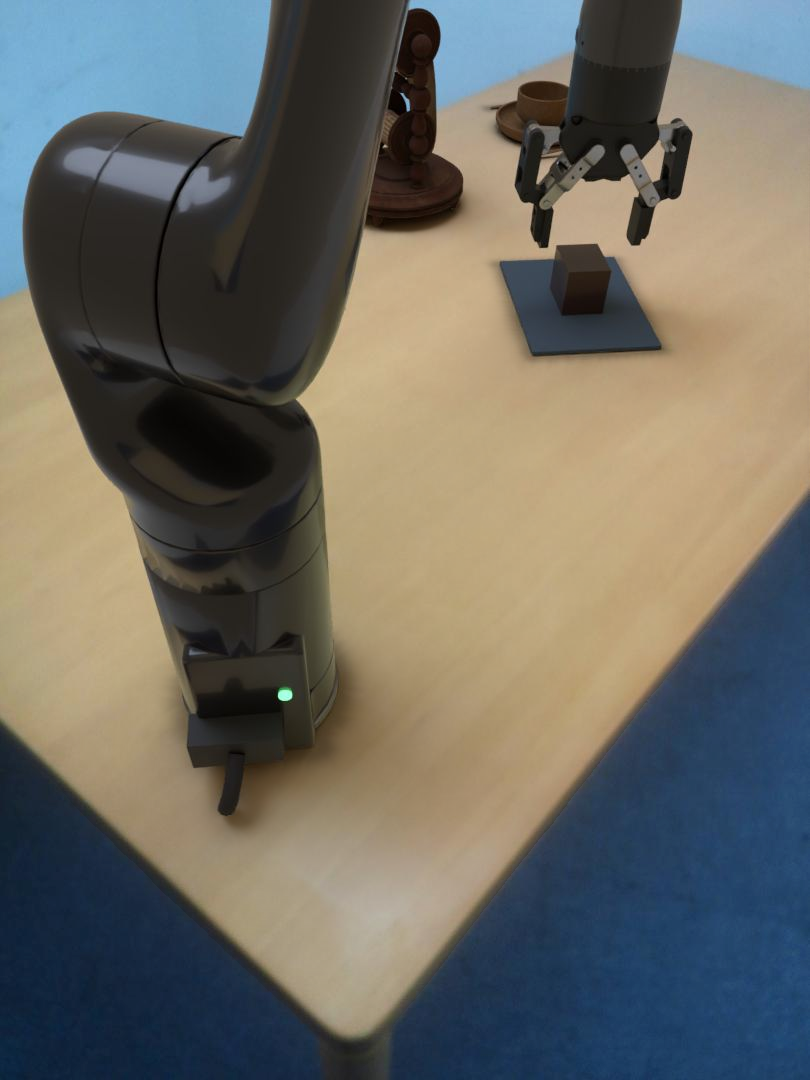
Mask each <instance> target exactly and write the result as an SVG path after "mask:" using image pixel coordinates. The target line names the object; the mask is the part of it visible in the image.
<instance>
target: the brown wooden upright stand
mask: <svg viewBox="0 0 810 1080" xmlns="http://www.w3.org/2000/svg"><path fill="white" fill-rule="evenodd" d="M441 33H442V32H441V27H440V24H439V21H438V19H437V18H436V16H435V15H434V14H433V13H432V12H431V11H429V10H427V8H426V9H425V8H421V7H415V8H409V9H408V13H407V17H406V22H405V26H404V31H403V35H402V39H401V44H400V49H399V53H398V58H397V63H396V68H395V73H394V78H393V83H392V88H391V93H390V98H389V103H388V108H387V113H386V118H385V123H384V128H383V133H382V138H381V143H380V148H379V154H378V159H377V164H376V169H375V174H374V179H373V185H372V190H371V195H370V200H369V205H368V211H367V216H368V215H369V216H371V218H372V222H373V225H374V226H375V227H378V228H379V227H381V224H382V222H383V218H388V219H409V218H410V219H411V218H420V217H426V216H429V215H434V214H437V213H440V212H442V211H445V210H446V209H449V208H450V209H452V210H455V209H457V207H458V205H459V203H460V198H461V196H462V195H463V192H464V176H463V173H462V171H461V170H460V168H458V167H457V166H456V165H455V164H453V163H452V162H451V161H449V160H447V159H446V158H445V157H442V156H440V155H439V154H436V153H435V152H434V148H435V146H436V143H437V133H438V132H437V131H438V120H437V116H438V115H437V113H438V112H437V85H436V72H435V64H434V60H435V58H436V56H437V54H438V52H439V49H440V45H441V38H442V34H441ZM404 97H405V98H404ZM405 99H407V100H408V103H409V110H408V107H407V102H406V100H405ZM384 146H385V147H384Z"/></svg>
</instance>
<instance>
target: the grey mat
mask: <svg viewBox="0 0 810 1080" xmlns="http://www.w3.org/2000/svg"><path fill="white" fill-rule="evenodd" d="M604 257H605V259H606V261H607V263H608V265H609V267H610V269H611V270H612V271H611V276H610V281H609V285H608V290H607V295H606V300H605V304H604V309H603V313H602V314H583V315H561V313H560V311H559V308H558V306H557V303H556V301H555V299H554V296H553V294H552V292H551V289H550V283H551V276H552V270H553V264H554V258H545V259H519V260H500V261H499V267H500V269H501V273H502V275H503V278H504V281H505V284H506V287H507V290H508V292H509V296H510V298H511V301H512V303H513V306H514V309H515V311H516V314H517V317H518V320H519V323H520V326H521V328H522V331H523V335H524V337H525V340H526V342H527V345H528V348H529V351H530V354H531V356H548V355H549V356H550V355H552V356H553V355H571V354H573V355H574V354H589V353H590V354H591V353H607V352H608V353H609V352H610V353H611V352H630V351H650V350H651V351H652V350H661V349H662V347H663V346H662V343H661V341H660V340H659V337H658V336H657V334H656V332H655V330H654V328H653V327H652V325H651V323H650V321H649V319H648V317H647V315H646V313H645V312H644V309H643V307H642V305H641V303H640V302H639V300H638V298H637V297H636V295H635V293H634V291H633V289H632V287H631V286H630V283H629V282H628V280H627V278H626V276H625V274H624V272H623V271H622V268H621V267H620V265H619V262H617V259H616V258H615V257H616V256H604Z"/></svg>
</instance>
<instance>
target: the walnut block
mask: <svg viewBox="0 0 810 1080" xmlns="http://www.w3.org/2000/svg"><path fill="white" fill-rule="evenodd" d="M605 257H606V256H605V255H604V253H603V251H602V250H601V247H600V245H599V244H598V243H575V244H573V243H572V244H556V245H555V252H554V257H553V259H554V264H553V270H552V276H551V283H550V289H551V292H552V294H553V296H554V299H555V301H556V303H557V306H558V308H559V311H560V313H561V315H583V314H602V313H603V309H604V304H605V300H606V295H607V290H608V285H609V281H610V276H611V271H612V270H611V269H610V267H609V265H608V263H607V261H606V259H605Z"/></svg>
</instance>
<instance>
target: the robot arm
mask: <svg viewBox="0 0 810 1080" xmlns="http://www.w3.org/2000/svg"><path fill="white" fill-rule="evenodd" d="M410 5H411V0H270V10H269V19H268V29H267V36H266V43H265V50H264V57H263V62H262V67H261V73H260V78H259V84H258V87H257V92H256V96H255V100H254V104H253V106H252V112H251V115H250V117H249V120H248V124H247V126H246V128H245V131H244V134H243V135H238V134H234V133H229V132H224V131H219V130H215V129H210V128H206V127H201V126H196V125H192V124H187V123H182V122H177V121H173V120H168V119H162V118H157V117H154V116H148V115H144V114H143V115H142V114H139V113H132V112H127V111H110V110H108V111H107V110H102V111H96V112H95V111H94V112H92V113H87V114H85V115H81V116H79V117H77V118H75V119H73V120H70V121H69V122H68V123H66V124H64V125H63V126H62V127H61V128H60V129H59V130H57V132H55V133H54V135H52V137H51V138H50V139H49V140H48V142H47V143H46V144H45V146H44V147H43V148H42V150H41V152H40V153H39V154H38V156H37V159H36V161H35V163H34V164H33V168H32V171H31V174H30V176H29V180H28V184H27V188H26V193H25V195H24V196H25V197H24V201H23V210H22V223H21V225H22V226H21V227H22V230H21V231H22V233H21V234H22V256H23V263H24V268H25V274H26V281H27V286H28V291H29V295H30V298H31V301H32V306H33V309H34V312H35V315H36V319H37V322H38V326H39V328H40V330H41V333H42V336H43V339H44V341H45V344H46V347H47V349H48V352H49V355H50V357H51V359H52V362H53V365H54V367H55V370H56V372H57V375H58V377H59V380H60V382H61V385H62V387H63V390H64V392H65V395H66V397H67V399H68V402H69V405H70V408H71V410H72V413H73V415H74V417H75V420H76V422H77V425H78V427H79V430H80V433H81V436H82V438H83V440H84V443H85V445H86V447H87V449H88V452H89V454H90V456H91V458H92V459H93V461H94V463H95V464H96V466H97V468H98V469H99V470H100V471H101V473H102V474H103V475H104V477H106V478H107V480H108V481H109V482H110V483H112V485H113V486H114V487H115V488H116V489H117V490H119V491H120V493H121V494H122V497H123V499H124V503H125V506H126V509H127V512H128V515H129V519H130V521H131V525H132V529H133V532H134V535H135V538H136V542H137V545H138V550H139V553H140V556H141V559H142V563H143V566H144V570H145V572H146V575H147V580H148V583H149V586H150V589H151V592H152V593H151V594H152V596H153V599H154V603H155V606H156V610H157V613H158V616H159V619H160V623H161V627H162V629H163V630H162V631H163V633H164V637H165V640H166V643H167V646H168V650H169V653H170V657H171V659H172V663H173V666H174V670H175V672H176V676H177V679H178V683H179V685H180V689H181V696H182V700H183V701H182V702H183V705H184V708H185V711H186V714H187V717H188V722H187V733H186V735H187V738H186V749H187V753H188V756H189V758H190V762H191V766H192V768H193V769H201V768H213V767H224V766H225V773H224V779H223V784H222V785H223V786H222V791H221V796H220V799H219V801H218V804H217V812H218V813H219V815H220V816H223V817H230V816H232V815H233V814H234V813H235V812H236V809H237V807H238V804H239V802H240V801H239V800H240V796H241V792H242V791H241V790H242V785H243V778H244V777H243V776H244V770H245V769H244V768H245V765H246V764H257V763H268V762H269V763H270V762H279V761H281V762H282V761H285V759H286V755H285V753H286V751H285V750H289V749H301V748H311V747H313V746H314V745H315V742H316V739H315V735H316V734H315V733H316V729H317V728H319V726H320V725H321V724H322V723H323V721H324V720H325V719H326V718H327V716H328V714H329V713H330V712H331V710H332V708H333V705H334V704H335V701H336V698H337V693H338V686H339V674H338V665H337V660H336V655H335V653H336V652H335V640H334V628H333V627H334V626H333V613H332V600H331V599H332V598H331V585H330V584H331V583H330V569H329V555H328V539H327V527H326V526H327V524H326V508H325V507H326V506H325V490H324V476H323V462H322V448H321V443H320V441H321V440H320V438H319V434H318V433H319V432H318V430H317V427H316V425H315V423H314V420H313V419H312V417H311V416H310V414H309V412H308V410H307V409H306V408H305V407H304V405H302V404H301V402H300V401H298V400H297V399H298V398H299V397H301V396H302V395H303V394H304V392H306V391H307V389H308V388H309V387H310V386H311V384H312V383H313V382H314V381H315V379H316V378H317V376H318V374H319V373H320V371H321V369H322V367H323V366H324V364H325V362H326V360H327V358H328V356H329V354H330V352H331V349H332V347H333V344H334V342H335V339H336V337H337V335H338V333H339V329H340V326H341V323H342V320H343V317H344V313H345V311H346V307H347V303H348V300H349V296H350V292H351V287H352V284H353V280H354V277H355V272H356V268H357V263H358V258H359V255H360V250H361V244H362V239H363V236H364V235H363V234H364V231H365V226H366V221H367V216H368V214H367V211H368V205H369V200H370V195H371V190H372V185H373V179H374V174H375V169H376V164H377V159H378V154H379V148H380V143H381V138H382V133H383V128H384V123H385V118H386V113H387V108H388V103H389V98H390V93H391V88H392V83H393V78H394V73H395V72H396V71H395V68H396V63H397V58H398V53H399V49H400V44H401V39H402V35H403V31H404V26H405V22H406V17H407V13H408V9H409V10H410ZM682 10H683V0H582V3H581V7H580V12H579V18H578V24H577V26H576V28H575V34H574V42H575V44H574V51H573V57H572V65H571V71H570V78H569V84H568V87H569V90H568V97H567V104H566V112H565V116H564V118H563V120H562V122H561V123H560V125H559V126H558V127H555V126H539V124H538V123H537V121H535V120H530V121H528V122H527V123H526V125H525V128H524V133H523V139H522V142H521V146H520V150H519V151H520V152H519V157H518V162H517V168H516V173H515V179H514V188H515V191H516V193H517V196H518V198H519V200H520V202H522V203H523V204H529V203H530V204H531V205H532V212H531V219H530V220H531V221H530V227H529V230H530V234H531V236H532V239H533V241H534V243H536V244H537V246H538V249H548V248H549V245H550V239H551V232H552V225H553V219H554V211H555V210H554V207H553V206H554V205H555V204H556V203H557V202H558V201H559V199H560V198H562V196H563V195H564V194H565V193H568V192H570V191H571V190H572V189H573V188H574V187H575V186H576V184H577V183H578V182H579V181H580V180H581V179H582V180H583V181H584V182H585V183H589V182H590V183H593V182H598V181H601V180H607V181H610V182H621V181H622V179H623V178H625V177H627V176H629V177H630V180H631V181H632V184H633V185H634V186H635V188H636V190H637V192H638V195H637V196H634V197H633V201H632V205H631V209H630V215H629V219H628V224H627V228H626V234H625V235H626V240H627V242H628V243H629V244H630V246H631V247H635V246H641V244H642V240H646V239H647V237H648V236H649V235H650V230H651V226H652V222H653V217H654V213H655V209H656V206H657V205H658V204H659V203H660V202H662V201H665V200H667V199H669V200H672V201H674V200H676V199H679V198H680V196H681V195H682V191H683V186H684V183H685V182H684V181H685V176H686V171H687V166H688V162H689V155H690V150H691V145H692V140H693V136H694V135H693V133H694V132H693V131H692V130H691V128H690V127H689V126H688V124H687V123H686V122H685V121H684V120H683V119H681V118H680V117H675V118H673V119H672V120H671V121H670V122H669V123H663V124H659V123H658V119H659V115H660V113H661V108H662V104H663V100H664V97H665V91H666V86H667V82H668V77H669V73H670V69H671V64H672V60H673V56H674V51H675V46H676V41H677V36H678V33H679V28H680V24H681V18H682ZM659 141H660V143H659V144H660V147H661V148H662V150H663V151H664V152H663V159H662V164H661V169H660V173H659V174H660V175H659V179H657V180H654V181H652V179H651V177H650V175H649V173H648V171H647V169H646V167H645V166H644V163H643V161H642V160H643V159H644V158H645V157H646V156H647V155H649V153H650V151H651V150H652V149H654V147H655V146H656V145H657V143H658V142H659ZM556 142H558V143H559V145H558V146H560V149H561V148H562V150H563V151H561V152H560V155H558V157H557V158H556V159H555V160H554V161H553V162H552V164H551V165H550V167H549V169H548V172H547V173H546V174H545V175H544V177H543V178H542V179H541V180H540V181H539V182H538V176H539V171H540V166H541V161H542V156H547V155H548V154H547V153H548V152H549V151H551V150H550V149H551V147H552V145H553V144H554V143H556ZM553 146H554V145H553ZM537 182H538V183H537Z"/></svg>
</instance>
